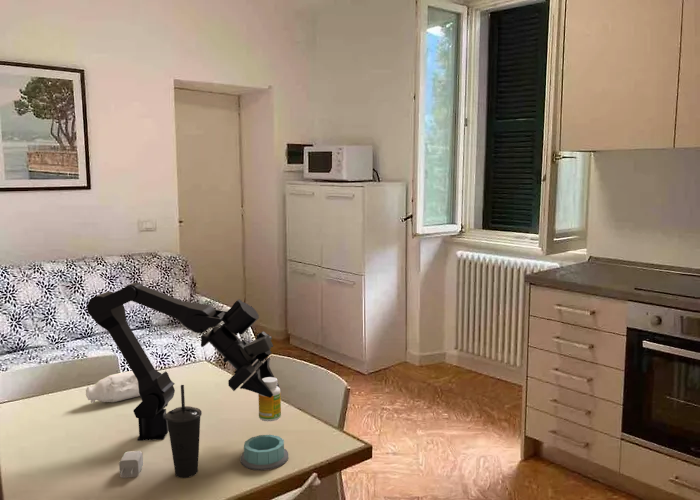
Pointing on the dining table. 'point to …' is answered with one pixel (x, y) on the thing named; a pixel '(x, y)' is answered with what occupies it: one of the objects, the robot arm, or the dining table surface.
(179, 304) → the robot arm
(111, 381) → the white bottle
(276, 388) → the supplement bottle
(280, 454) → the teal round bowl
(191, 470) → the drinking cup
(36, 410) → the dining table surface
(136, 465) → the usb wall charger
